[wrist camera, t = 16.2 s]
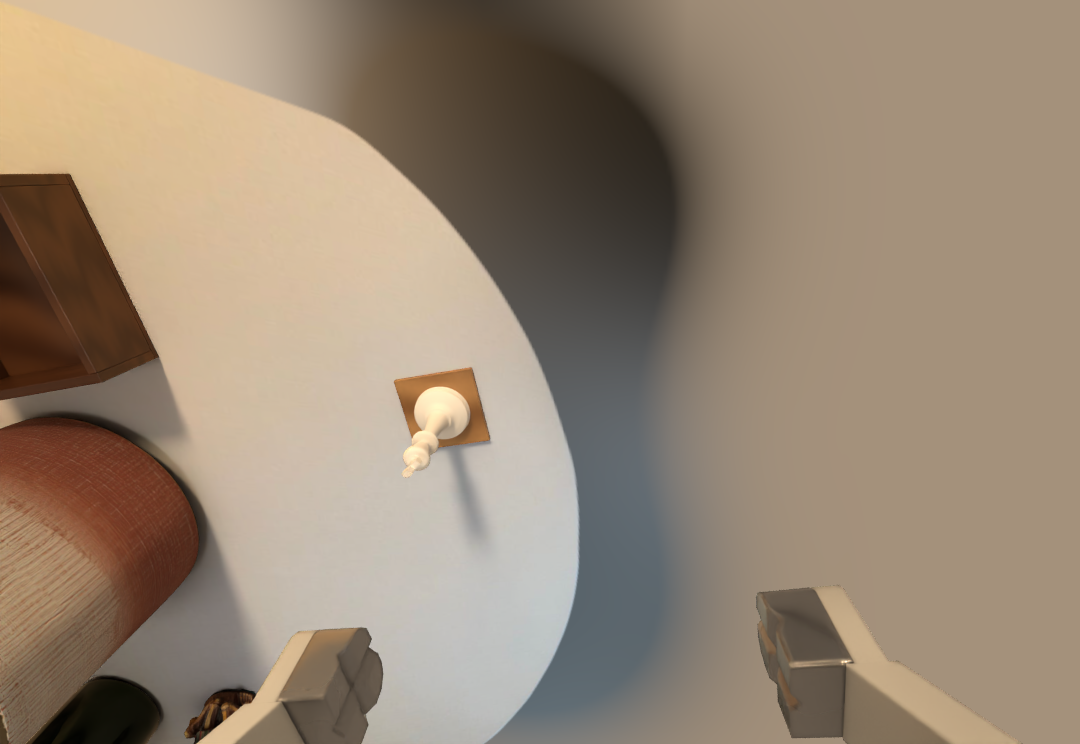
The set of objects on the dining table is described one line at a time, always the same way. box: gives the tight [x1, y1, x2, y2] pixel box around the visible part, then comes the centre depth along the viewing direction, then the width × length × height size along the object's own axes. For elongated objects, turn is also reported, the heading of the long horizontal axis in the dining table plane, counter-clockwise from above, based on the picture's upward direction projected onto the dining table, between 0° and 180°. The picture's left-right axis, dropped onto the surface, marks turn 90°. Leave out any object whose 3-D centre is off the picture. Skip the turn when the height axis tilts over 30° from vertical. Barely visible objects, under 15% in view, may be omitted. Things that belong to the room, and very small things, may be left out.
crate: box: [0, 174, 158, 400], centre depth 41 cm, size 16×16×6 cm
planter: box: [0, 417, 199, 744], centre depth 43 cm, size 22×22×20 cm
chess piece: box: [401, 387, 470, 478], centre depth 41 cm, size 5×5×10 cm
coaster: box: [394, 368, 490, 448], centre depth 46 cm, size 7×7×1 cm
